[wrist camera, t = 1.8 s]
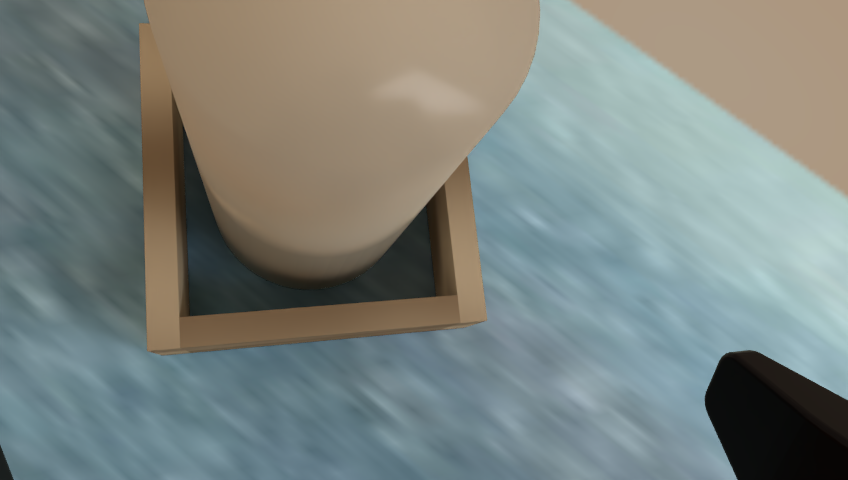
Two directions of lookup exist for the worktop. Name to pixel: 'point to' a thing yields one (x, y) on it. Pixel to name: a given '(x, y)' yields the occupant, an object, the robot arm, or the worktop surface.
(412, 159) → the jug
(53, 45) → the worktop surface
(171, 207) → the holder
